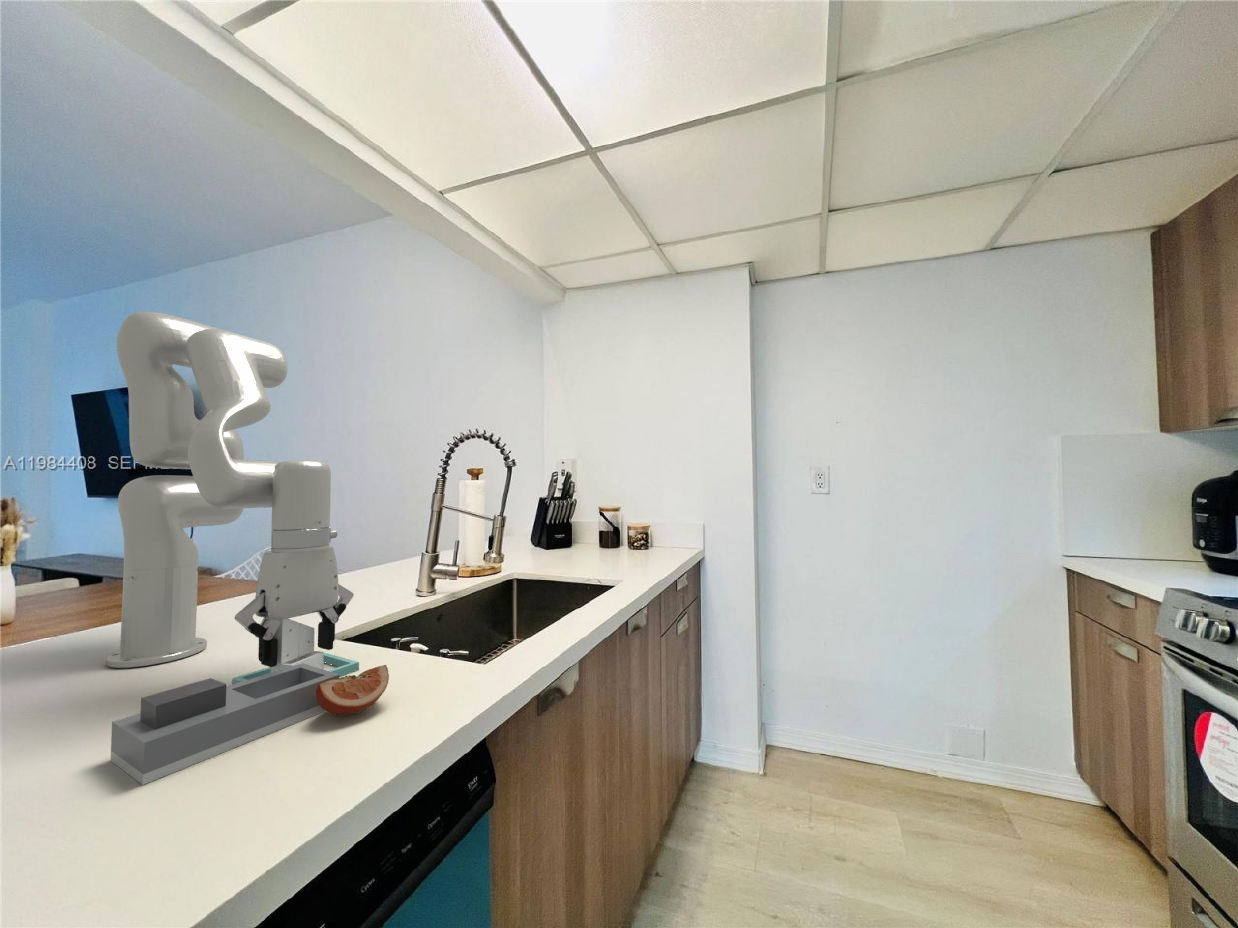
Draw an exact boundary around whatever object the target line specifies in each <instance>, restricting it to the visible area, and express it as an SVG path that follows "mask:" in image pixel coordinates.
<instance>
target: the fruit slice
mask: <svg viewBox="0 0 1238 928" xmlns="http://www.w3.org/2000/svg"><path fill="white" fill-rule="evenodd" d="M389 677H390V675H389V668H388V667H387V664H383V665H379V666H376V667H373V668H369V669H367V670H364V671H362V672H361V673H360V674H358V675H357V676H356V675H355V674H353V675H344V676H340V677H339V679H333V680H329V681H325V682H323V683H320V684H319V685H318V687H317V689H316V698H317V701H318V703H319V705H320V706H321V708H323V709H324V710H325V711H324V712H326V713H328V714H331V715H333V716H339V717H341V716H342V717H343V716H345V717H346V716H351V715H355V714H357V713H361V712H362V711H366V709H368V708H370V707H372V706H374V704H375V703H377V702H378V700H379V699H380V698H381V696H382V695H383V694H384V693H385V691H386V690H387V687H388V684H389V679H390V678H389Z"/></svg>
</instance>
